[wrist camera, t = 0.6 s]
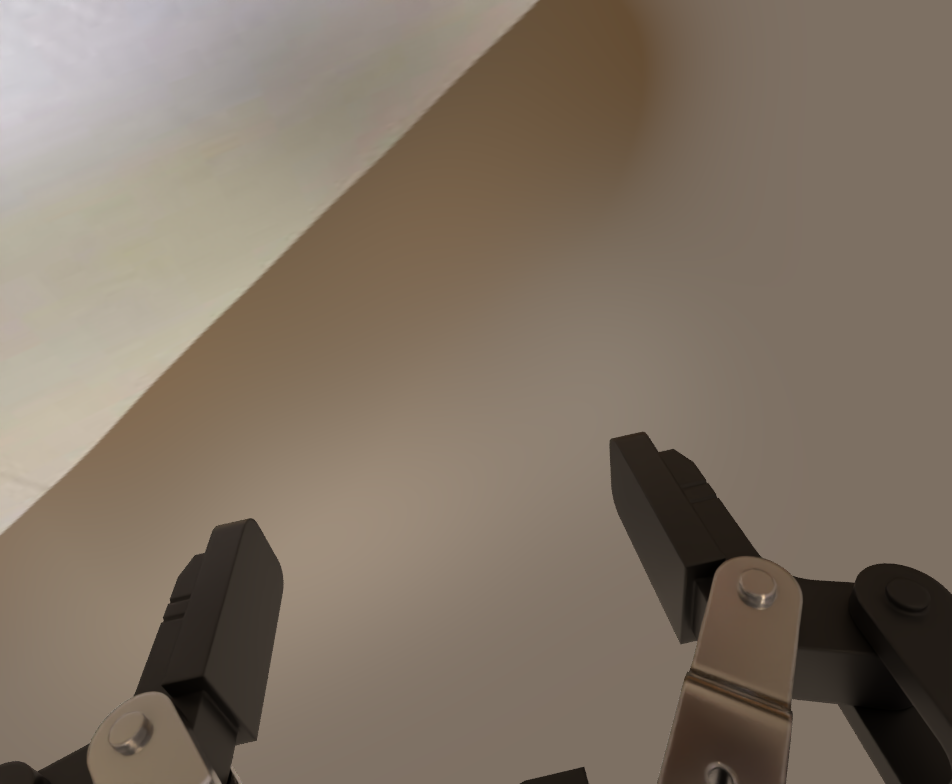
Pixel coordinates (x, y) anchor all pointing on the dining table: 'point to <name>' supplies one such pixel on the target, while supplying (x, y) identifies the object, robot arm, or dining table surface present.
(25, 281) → the dining table surface
